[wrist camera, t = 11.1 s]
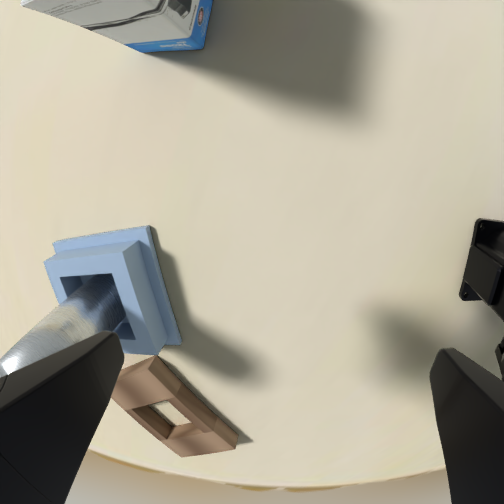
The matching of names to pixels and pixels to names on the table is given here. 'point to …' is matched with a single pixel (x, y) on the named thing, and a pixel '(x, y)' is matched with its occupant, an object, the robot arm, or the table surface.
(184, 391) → the holder
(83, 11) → the ink box
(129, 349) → the tray
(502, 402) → the robot arm
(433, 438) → the table surface
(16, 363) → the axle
